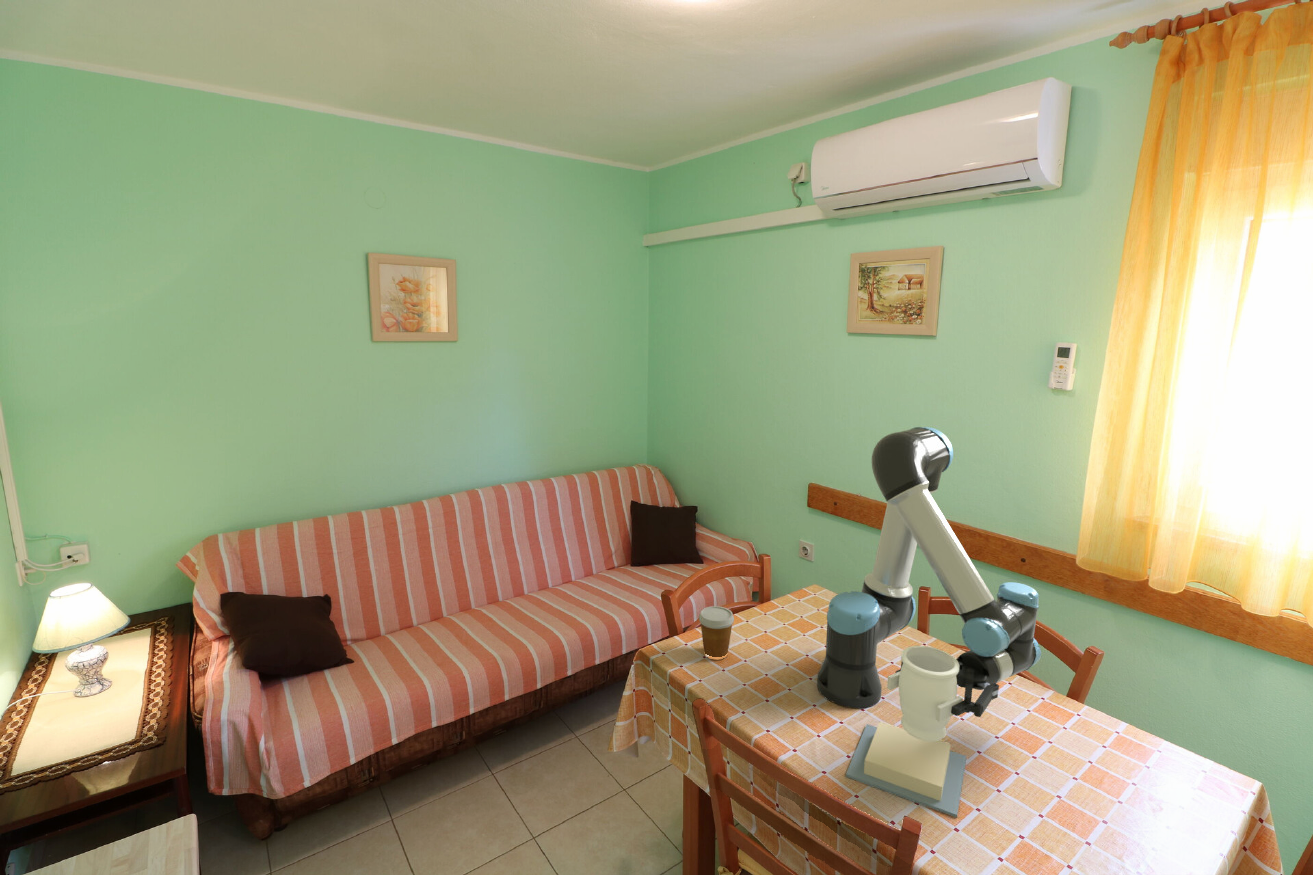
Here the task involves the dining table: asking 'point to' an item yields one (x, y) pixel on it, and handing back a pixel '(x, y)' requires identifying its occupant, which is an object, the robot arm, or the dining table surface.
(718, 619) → the disposable coffee cup
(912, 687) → the jar
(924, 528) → the robot arm
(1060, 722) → the dining table surface
